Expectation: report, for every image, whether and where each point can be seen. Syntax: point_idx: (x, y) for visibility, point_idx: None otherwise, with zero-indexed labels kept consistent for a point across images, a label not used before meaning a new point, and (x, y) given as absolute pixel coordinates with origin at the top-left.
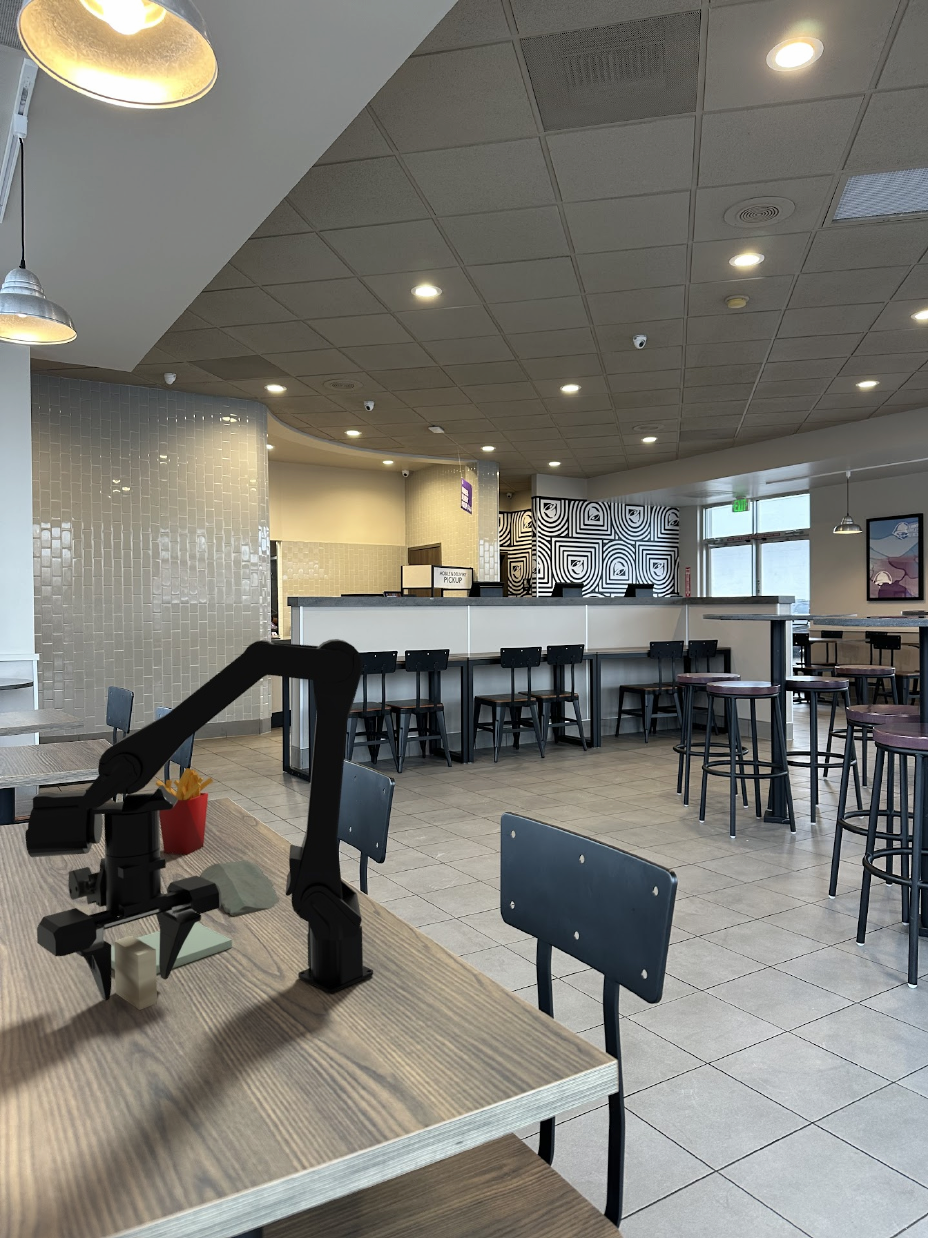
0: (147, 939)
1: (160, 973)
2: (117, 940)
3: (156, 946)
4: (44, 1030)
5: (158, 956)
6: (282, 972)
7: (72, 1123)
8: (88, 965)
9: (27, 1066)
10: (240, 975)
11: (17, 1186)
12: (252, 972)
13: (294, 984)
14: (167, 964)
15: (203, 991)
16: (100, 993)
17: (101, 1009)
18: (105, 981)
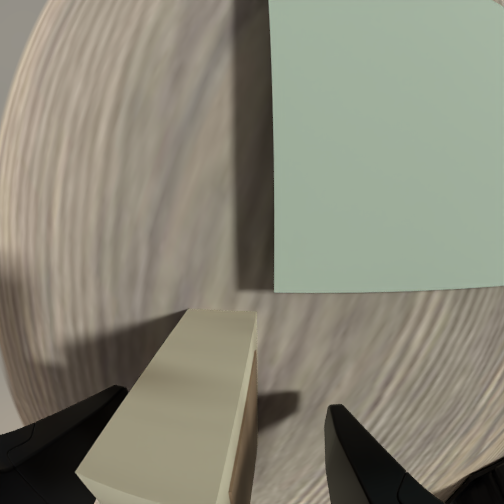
0: (458, 10)
1: (329, 415)
2: (94, 488)
3: (474, 91)
4: (27, 343)
5: (446, 201)
6: (488, 448)
7: None
8: (19, 429)
9: (28, 412)
10: (464, 429)
11: None
12: (480, 428)
13: (452, 484)
14: (328, 482)
15: None
16: (104, 391)
17: (127, 369)
18: None
